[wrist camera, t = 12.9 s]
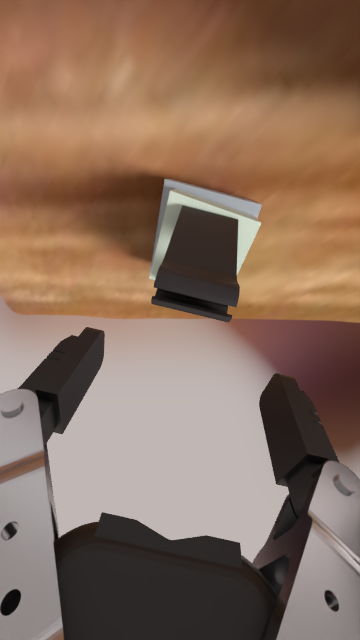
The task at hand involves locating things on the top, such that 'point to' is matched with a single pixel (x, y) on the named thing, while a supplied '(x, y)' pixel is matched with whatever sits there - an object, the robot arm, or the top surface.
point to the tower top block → (177, 198)
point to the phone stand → (200, 265)
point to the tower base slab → (208, 194)
